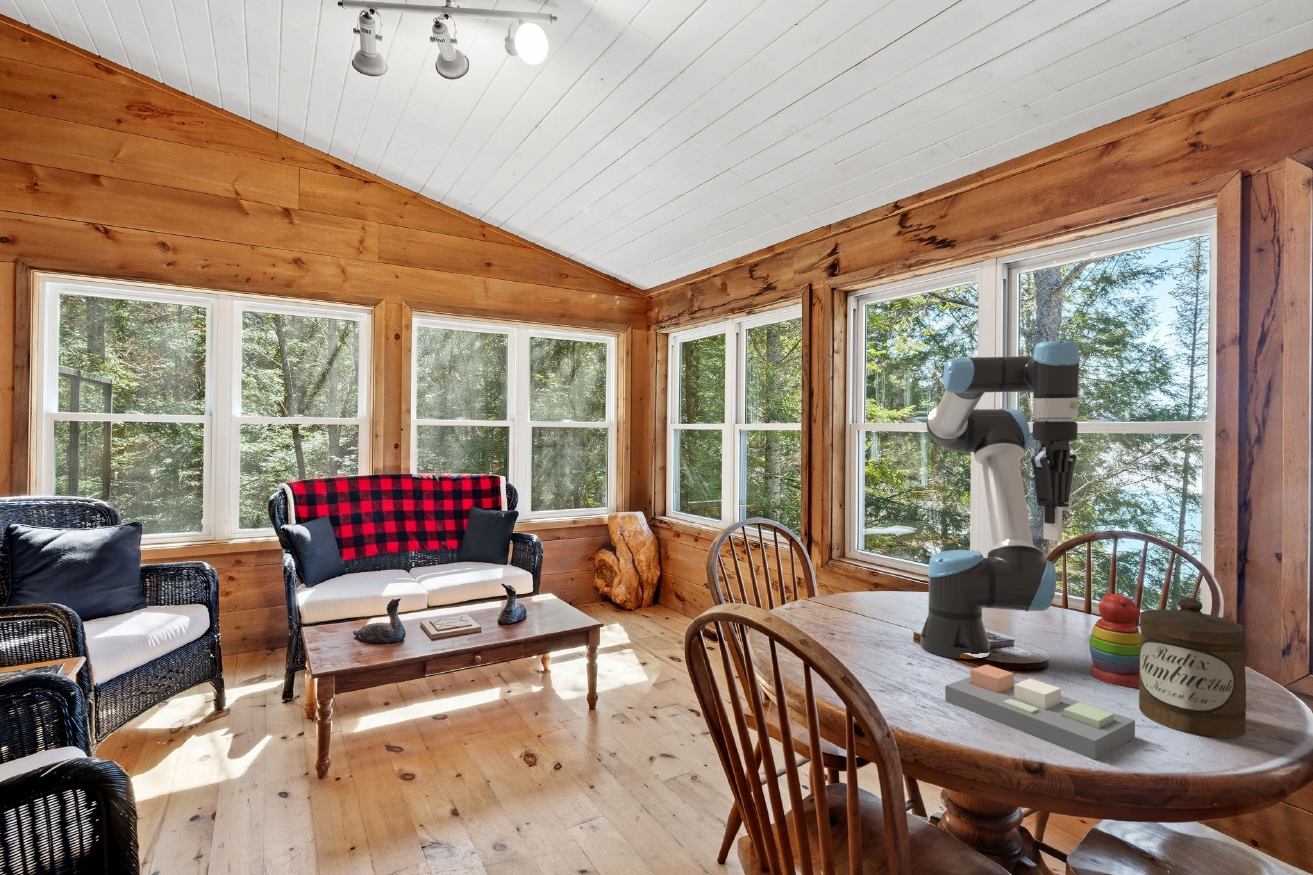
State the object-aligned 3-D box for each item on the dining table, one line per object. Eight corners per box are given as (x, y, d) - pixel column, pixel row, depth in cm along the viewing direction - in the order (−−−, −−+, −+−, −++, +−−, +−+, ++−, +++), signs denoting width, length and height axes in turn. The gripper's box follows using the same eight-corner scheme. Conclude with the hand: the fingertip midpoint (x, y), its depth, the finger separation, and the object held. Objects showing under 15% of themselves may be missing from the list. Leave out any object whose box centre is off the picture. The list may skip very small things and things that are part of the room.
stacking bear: (1159, 690, 129) (1160, 602, 129) (1103, 686, 131) (1104, 599, 131) (1131, 670, 140) (1132, 589, 140) (1079, 667, 142) (1080, 587, 142)
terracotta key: (970, 684, 125) (970, 669, 125) (986, 679, 128) (986, 664, 127) (997, 694, 120) (997, 678, 120) (1013, 688, 123) (1013, 673, 123)
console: (945, 700, 123) (945, 683, 123) (987, 686, 131) (987, 669, 131) (1094, 759, 101) (1095, 738, 101) (1134, 737, 109) (1135, 717, 109)
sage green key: (1063, 726, 110) (1063, 708, 110) (1079, 719, 113) (1079, 702, 113) (1098, 739, 106) (1098, 720, 106) (1113, 731, 109) (1114, 713, 108)
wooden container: (1127, 715, 117) (1128, 596, 117) (1153, 695, 126) (1154, 584, 126) (1234, 747, 106) (1235, 614, 105) (1254, 723, 115) (1255, 600, 114)
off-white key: (1014, 700, 117) (1014, 684, 117) (1030, 694, 120) (1030, 678, 120) (1044, 711, 113) (1045, 694, 113) (1060, 704, 116) (1060, 688, 116)
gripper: (1058, 420, 119) (1055, 546, 120) (1092, 420, 126) (1089, 539, 127) (1017, 420, 125) (1015, 539, 126) (1052, 419, 132) (1049, 533, 133)
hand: (1052, 539), depth 127 cm, fingers closed
